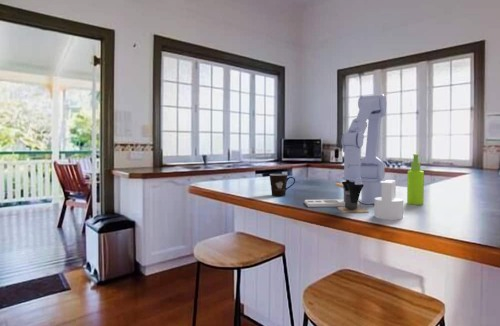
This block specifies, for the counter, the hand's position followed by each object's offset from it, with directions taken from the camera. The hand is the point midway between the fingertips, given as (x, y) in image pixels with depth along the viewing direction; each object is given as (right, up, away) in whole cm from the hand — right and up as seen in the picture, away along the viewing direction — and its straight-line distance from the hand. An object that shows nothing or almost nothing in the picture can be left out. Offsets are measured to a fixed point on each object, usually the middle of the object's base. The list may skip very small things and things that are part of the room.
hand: (352, 201), depth 124 cm
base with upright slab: (+9, -4, -11) cm, 15 cm away
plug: (0, -2, 0) cm, 2 cm away
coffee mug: (-23, -1, +36) cm, 43 cm away
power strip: (-5, -3, +12) cm, 13 cm away
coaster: (0, -3, 0) cm, 3 cm away
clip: (+1, +4, +17) cm, 17 cm away
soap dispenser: (+29, -2, +12) cm, 32 cm away
